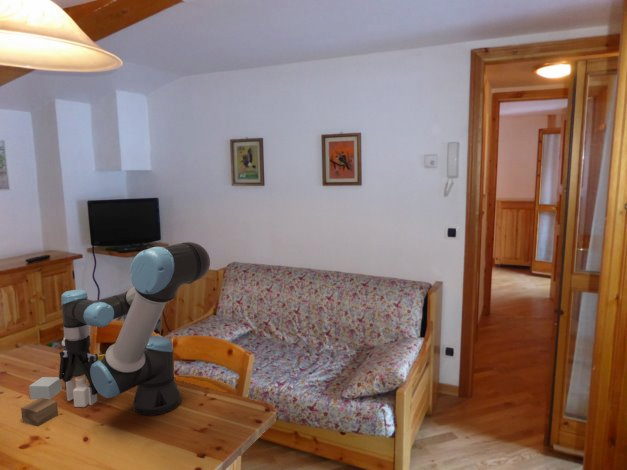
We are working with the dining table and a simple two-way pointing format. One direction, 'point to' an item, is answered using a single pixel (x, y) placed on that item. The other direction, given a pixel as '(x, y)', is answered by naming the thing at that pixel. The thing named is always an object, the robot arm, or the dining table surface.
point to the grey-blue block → (45, 388)
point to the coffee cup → (78, 369)
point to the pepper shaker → (81, 392)
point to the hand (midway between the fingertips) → (82, 400)
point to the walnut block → (39, 411)
